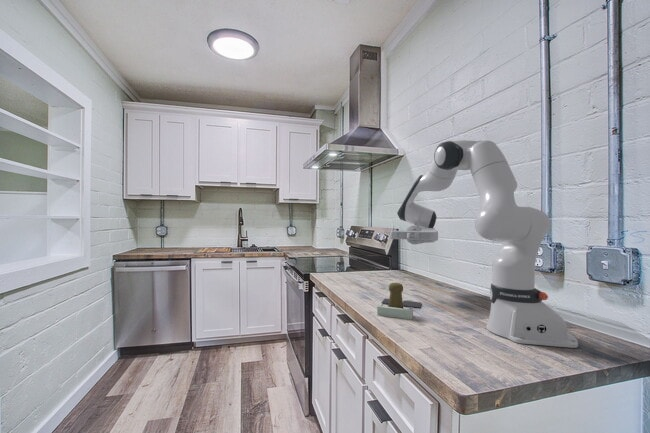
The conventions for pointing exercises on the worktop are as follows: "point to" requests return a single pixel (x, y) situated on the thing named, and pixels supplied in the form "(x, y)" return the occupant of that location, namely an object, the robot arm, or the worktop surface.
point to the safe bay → (395, 312)
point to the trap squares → (405, 303)
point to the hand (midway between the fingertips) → (412, 235)
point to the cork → (395, 295)
